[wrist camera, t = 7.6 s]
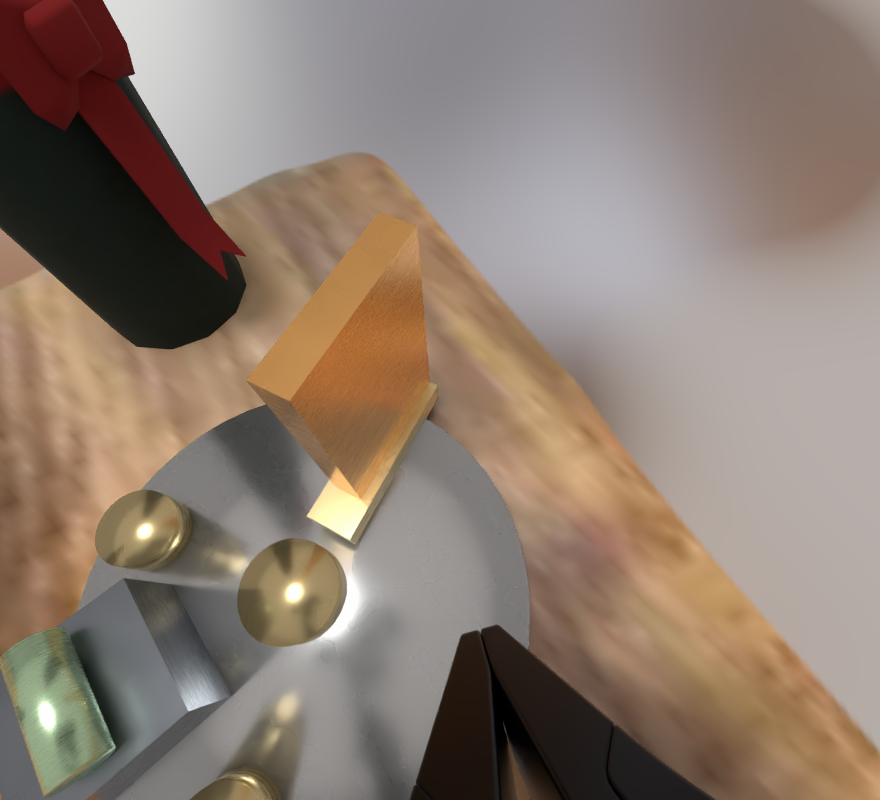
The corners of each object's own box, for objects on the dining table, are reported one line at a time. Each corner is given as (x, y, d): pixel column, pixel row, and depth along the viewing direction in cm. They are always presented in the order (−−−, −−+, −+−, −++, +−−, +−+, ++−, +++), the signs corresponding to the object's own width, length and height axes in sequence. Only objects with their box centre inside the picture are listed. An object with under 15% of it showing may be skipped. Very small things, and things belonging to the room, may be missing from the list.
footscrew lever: (312, 664, 16) (140, 719, 7) (234, 615, 17) (-9, 608, 8) (453, 404, 21) (456, 238, 12) (386, 375, 21) (342, 199, 13)
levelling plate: (618, 618, 18) (684, 617, 13) (221, 1071, 13) (74, 1363, 8) (358, 342, 24) (334, 270, 19) (23, 571, 19) (-128, 553, 14)
